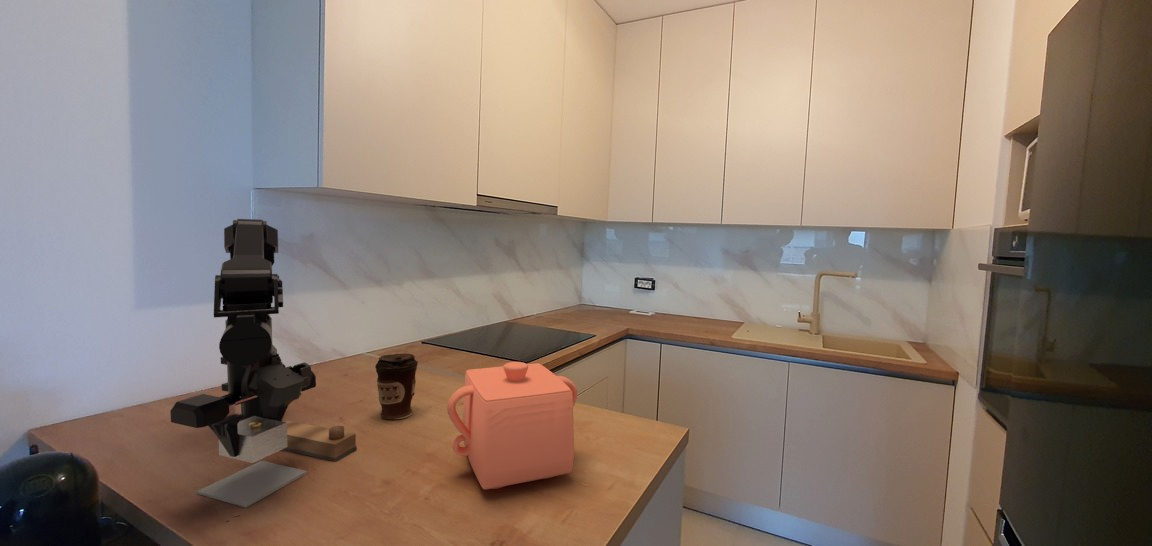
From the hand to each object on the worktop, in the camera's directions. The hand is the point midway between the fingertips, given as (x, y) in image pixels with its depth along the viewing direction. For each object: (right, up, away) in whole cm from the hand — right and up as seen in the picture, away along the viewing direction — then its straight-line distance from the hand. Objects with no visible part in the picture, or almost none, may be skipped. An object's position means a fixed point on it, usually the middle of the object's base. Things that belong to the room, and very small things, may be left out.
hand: (253, 447), depth 71 cm
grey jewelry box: (0, -1, 0) cm, 1 cm away
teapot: (+38, -6, +11) cm, 40 cm away
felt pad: (0, -6, 0) cm, 6 cm away
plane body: (+2, -5, +12) cm, 13 cm away
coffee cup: (+11, -4, +28) cm, 31 cm away
